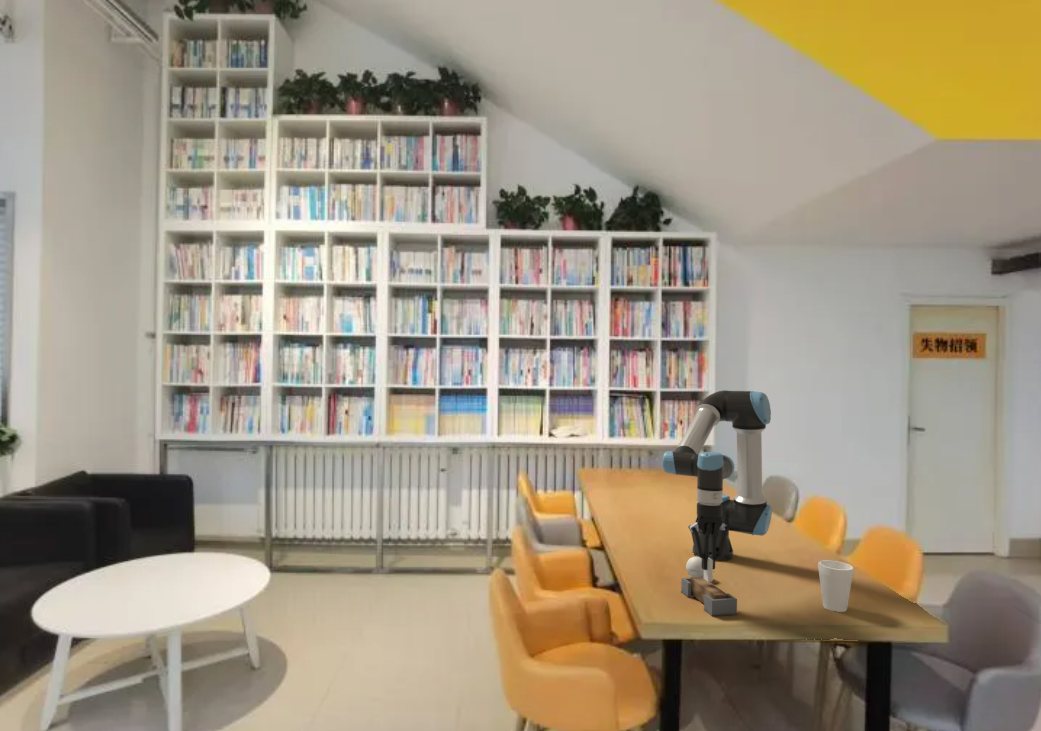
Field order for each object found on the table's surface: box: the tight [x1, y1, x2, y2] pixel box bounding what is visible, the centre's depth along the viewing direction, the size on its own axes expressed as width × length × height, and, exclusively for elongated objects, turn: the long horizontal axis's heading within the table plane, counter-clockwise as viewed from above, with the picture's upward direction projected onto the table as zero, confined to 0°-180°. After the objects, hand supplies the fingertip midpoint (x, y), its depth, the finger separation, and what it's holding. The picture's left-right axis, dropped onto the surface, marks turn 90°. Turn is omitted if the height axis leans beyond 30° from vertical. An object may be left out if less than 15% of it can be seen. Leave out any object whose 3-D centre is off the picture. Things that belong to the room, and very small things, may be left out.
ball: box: [685, 556, 715, 578], centre depth 203 cm, size 10×7×7 cm
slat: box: [690, 576, 728, 604], centre depth 182 cm, size 15×4×5 cm, turn 11°
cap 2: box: [703, 593, 738, 617], centre depth 175 cm, size 4×8×4 cm, turn 102°
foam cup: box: [817, 559, 854, 613], centre depth 181 cm, size 10×9×13 cm
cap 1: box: [680, 577, 712, 598], centre depth 190 cm, size 4×8×4 cm, turn 102°
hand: (708, 579), depth 183 cm, fingers closed
